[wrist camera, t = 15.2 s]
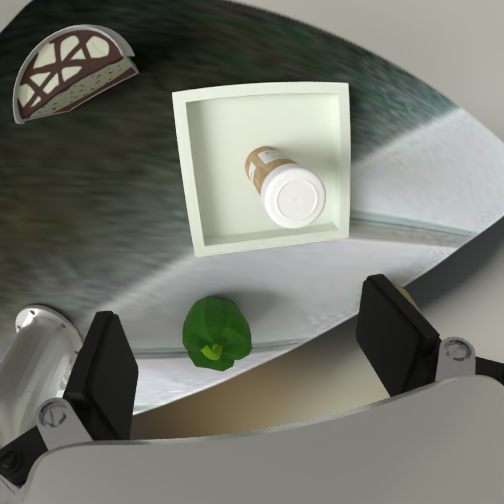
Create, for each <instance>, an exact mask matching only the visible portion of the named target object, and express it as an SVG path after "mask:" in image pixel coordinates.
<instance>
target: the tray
mask: <svg viewBox="0 0 504 504" xmlns="http://www.w3.org/2000/svg"><path fill="white" fill-rule="evenodd" d="M172 97H173V106H174V115H175V124H176V132H177V140H178V148H179V156H180V163H181V170H182V177H183V184H184V191H185V198H186V204H187V210H188V217H189V223H190V229H191V235H192V241H193V246H194V252H195V258H196V257H204V256H211V255H219V254H227V253H235V252H243V251H251V250H259V249H267V248H274V247H282V246H290V245H298V244H306V243H314V242H322V241H330V240H338V239H346V238H349V217H350V180H351V145H350V108H349V89H348V83H333V82H275V83H254V84H240V85H228V86H218V87H209V88H201V89H193V90H186V91H180V92H173V93H172ZM264 146H265V147H266V146H268V147H272V148H275V149H276V150H278V151H279V152H280V153H282V154H284V155H285V156H287V157H288V158H290V159H292V160H293V161H295V162H296V163H298V164H300V165H303V166H305V167H307V168H308V169H310V170H311V171H313V172H314V173H315V174H316V175H318V177H319V178H320V179H321V180H322V182H323V184H324V187H325V190H326V203H325V206H324V209H323V211H322V213H321V214H320V216H319V217H318V218H317V219H316V220H315V221H314V222H312V223H311V224H309V225H307V226H305V227H302V228H297V229H290V228H285V227H282V226H280V225H278V224H277V223H275V222H274V221H273V220H272V219H271V218H270V216H269V215H268V214H267V212H266V210H265V208H264V206H263V204H262V200H261V197H260V195H259V194H258V192H257V190H256V189H255V187H254V185H253V184H252V182H251V180H249V178H248V176H247V175H246V171H245V163H246V159H247V157H248V155H249V154H250V153H251V152H252V151H253V150H255V149H257V148H259V147H264Z"/></svg>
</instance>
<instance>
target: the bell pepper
mask: <svg viewBox="0 0 504 504" xmlns="http://www.w3.org/2000/svg"><path fill="white" fill-rule="evenodd" d="M183 345H184V346H185V348H186V349H187V350H188V355H189V357H190V358H191V360H192V361H193V363H194V364H195V366H196V367H203V368H210V369H214V370H219V371H225V370H227V369H229V368H230V367H232V366H233V364H234V360H240V359H242V358H244V357H246V356H247V355H249V353H250V351H251V349H252V347H251V333H250V328H249V324H248V323H247V321H246V319H245V317H244V316H243V314H242V313H241V312H240V310H239V309H238V307H237V306H236V304H235V303H234V302H232V301H229V300H226V299H222V300H220V299H218V298H217V297H210V296H208V297H206V298H204V299H201V300H199V301H197V302H196V303H195V304H194V306H193V307H192V308H191V310H190V311H189V313H188V315H187V317H186V319H185V322H184V326H183Z"/></svg>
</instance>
